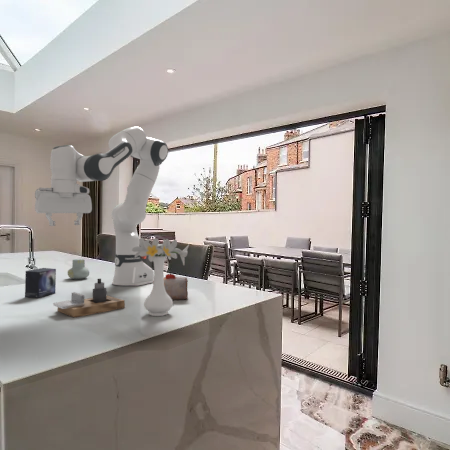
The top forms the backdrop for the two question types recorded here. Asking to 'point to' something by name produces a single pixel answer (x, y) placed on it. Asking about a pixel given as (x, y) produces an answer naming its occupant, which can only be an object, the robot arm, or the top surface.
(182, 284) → the food item
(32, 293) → the small box
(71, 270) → the air freshener
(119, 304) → the socket
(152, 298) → the flower vase
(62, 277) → the top surface
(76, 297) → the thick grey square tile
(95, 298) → the bottle
